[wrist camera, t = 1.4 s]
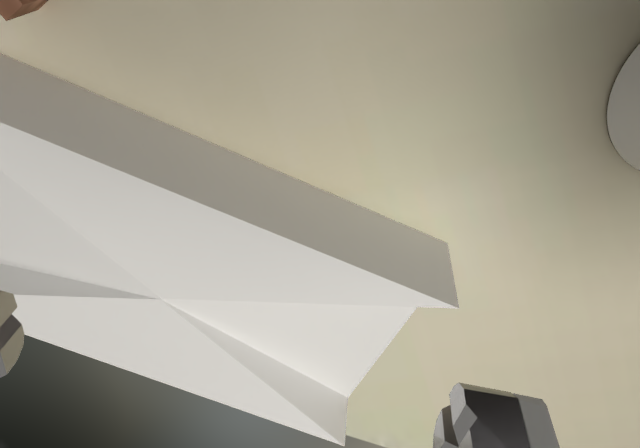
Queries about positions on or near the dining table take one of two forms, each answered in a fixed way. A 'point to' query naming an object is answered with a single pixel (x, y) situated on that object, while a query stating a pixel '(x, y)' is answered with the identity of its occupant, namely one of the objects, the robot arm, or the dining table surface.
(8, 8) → the guide channel
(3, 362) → the robot arm
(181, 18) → the dining table surface
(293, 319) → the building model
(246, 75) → the dining table surface
